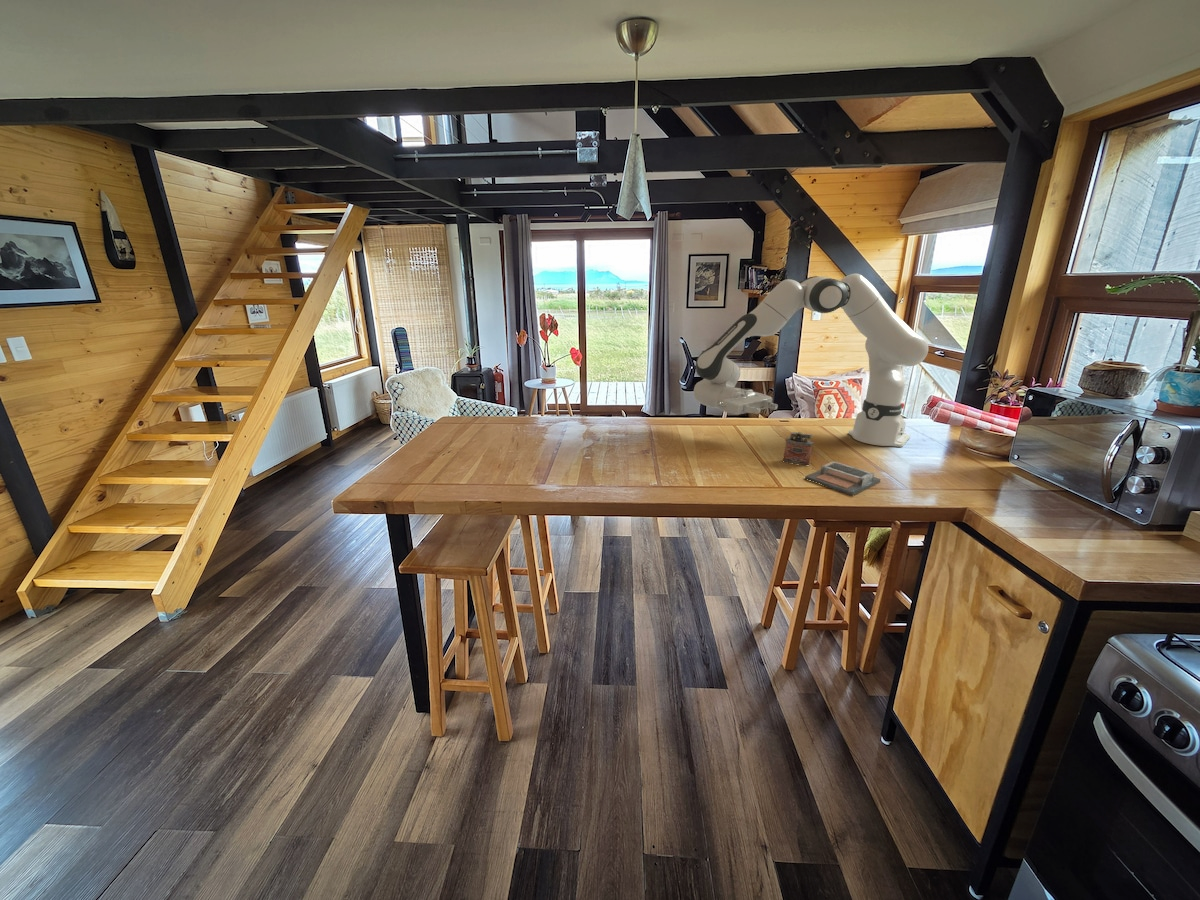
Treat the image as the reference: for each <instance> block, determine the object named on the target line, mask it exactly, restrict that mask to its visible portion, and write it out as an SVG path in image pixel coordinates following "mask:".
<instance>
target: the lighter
mask: <svg viewBox="0 0 1200 900" xmlns="http://www.w3.org/2000/svg"><path fill="white" fill-rule="evenodd" d="M812 438H813V435H812V434H809V433H808V434H807V433H802V432H801V431H798V432H790V437H786V438H785V447H784V451H783V452H784V453H783V457H782V460H783V461H784V462H783V461H782V462H783V463H785V462H788V463H787V464H789V463H793V464H792V465H794V464H799V465H798V466H800V465H809V464H811V463H810V460H811V455H812V450H813V446H814V442H813V441H810V440H812ZM809 466H810V465H809Z"/></svg>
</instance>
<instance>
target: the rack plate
mask: <svg viewBox="0 0 1200 900" xmlns="http://www.w3.org/2000/svg"><path fill="white" fill-rule="evenodd" d="M805 479H808V480H811V481H814V482H817V483H820V484H822V485H824V486H823V487H825V486H827V487H826V488H828V487H829V488H828V489H831V488H832V489H831V490H834V489H835V490H834V491H837V492H839V491H840V493H842V492H843V493H842V494H845V493H846V495H848V494H849V495H848V496H851V495H854V496H856V495H858V494H859V493H862V492H864V491H866V490H868V489H870V488H871V487H872V488H873V486H875V484H876V485H877V484H879V483H881V478H878V477H875V473H874V472H871V471H867V470H864V469H860V468H859V467H857V468H856V467H854V466H851V465H848V464H844V463H841V462H839V461H833V460H832V461H831V462H829V463H828V462H827V463H825V464H824V465H821V467H820V469H819V470H817V471H815V472H812V473H809V474H807V475H805V477H804V480H805ZM808 480H807V481H808ZM811 481H810V482H811ZM814 482H813V483H814ZM817 483H816V484H817ZM822 485H821V486H822ZM857 493H858V494H857ZM855 494H856V495H855Z"/></svg>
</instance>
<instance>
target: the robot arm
mask: <svg viewBox="0 0 1200 900" xmlns="http://www.w3.org/2000/svg"><path fill="white" fill-rule="evenodd" d="M803 308H806V309H808V310H810V311H812V312H817V313H820V314H829V313H832V312H834V311H836V310H838V309H842V310H843V312H844V313H845V315H846V316H847V317H848V319H849V320H850V321H851V322H852V324H853V325H854V326H855V328H856V329H857V330H858V332H859V333H860V334H861V335H863V336H864V337H865V338H866V340H865V345H864V347H865V351H866V353H867V356H868V365H869V366H868V367H869V369H868V371H869V379H868V385H867V388H866V389H867V390H866V395H865V398H864V400H863V402H862V407H861V411H860V412H859V413H857V414H856V417H855V420H854V424H853V428H852V430H849V431H848V433H847V434H848V435H850V436H851V437H852V438H853V439H854V440H856V441H858V442H861V443H864V444H869V445H872V446H873V445H874V446H880V447H881V446H882V447H900V448H903V447H904V445H905V444H906V443H908V441H909V440H910V439H911V435H910V434H908V433H905V428H906V424H907V423H906V421H905V420H904V418H903V417H902V410H903V409H904V408H905V403H904V402H902V400H903V396H904V391H905V388H906V387H905V386H906V379H905V377H904V375H903V369H902V367H914V366H917V365H919V364H921V363H922V362H923V361H924V360H925V359H926V357H927V356H928V353H929V344H928V341H926V340H925V338H923V337H921V335H919V334H918V333H917V332H915V331H914V330H913V328H911V327H910V326H909V325H908V324H907V323H906V322H905V321H904V320H903V319H902V318H900V317H899V316H898V314H896V313H895V312H894V311H893V309H892V308H891V307H890V305H888V303H887V302H886V300H885V299H884V298H883V296H882V294H881V293H880V292H879V291H878V290H877V288H876V287H875V286H874V285H873V284H872V283H871V282H870V281H869V280H868V279H867V278H866V277H865V276H863V275H862V274H860V273H851V274H848V275H846V276H844V277H842V278H841V279H840V280H839V279H836V278H831V277H828V276H817V275H816V276H814V275H813V276H810V277H807V278H806V279H803V280H801V281H799V282H798V281H797V280H794V279H789V278H787V279H784V280H782V281H780V282H779V283H778V284H777V285H775V287H774V288H772V290H771V291H770V292H769V293H767V295H766V296H765V297H764V299H762V300H761V302H760V303H759V304H758V305H757V306H756V307H755V308H754V309H753V310H751V311H750V312H749V313H746V314H744V315H742V316H741V317H739V318H738V319H737V320H736V321H735V322H734V323H733V324H732V325H731V326H730V327H729V328H728V329H727V330H726V331H725V332H724V333H723V334H722V335H721V336H720V337H719V338H718V339H716V341H715V342H714V343H713V344H712V345H710V346H709V347H708V348H706V349H704V350H703V351H702V352H701V353H700V354H699V355H698V357H697V358H696V361H695V371H696V373H697V375H698V376H699V377H700V378H702V380H700V381H698V382H696V384H694V388H693V396H694V399H695V400H696V402H698V403H699V404H701V405H703V406H706V407H709V408H711V409H718V410H720V411H723V412H724V413H728V414H730V415H734V416H735V415H736V416H739V415H744V414H755V415H758V414H760V413H761V410H765V409H769V410H773V411H775V410H776V411H777V410H778V407H779V405H778V404H777V403H773V397H771V396H770V395H767V394H764V393H761V392H757V391H754V390H753V389H750V388H740V387H736V385H737V384H738V381H739V380H740V377H741V367H740V366H739V365H738V364H737V363H736V362H734V361H733V360H731V359H730V358H728V357H727V356H728V355H729V354H730V353H731V352H732V351H733V350H734V349H735V348H736V347H737V346H738V345H739V344H740V343H741V342H742V341H743V340H745V339H747V338H749V337H770V336H774V335H776V334H777V333H778V332H779V331H781V330H782V329H783V328H784V327H785V325H786V324H787V323H788V322H789V320H790V319H791V318H792V317H793V316H794V315H795V313H796V312H797V311H799V310H800V309H801V310H802V309H803ZM909 438H910V439H909ZM908 439H909V440H908ZM907 440H908V441H907ZM902 446H903V447H902Z"/></svg>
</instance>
